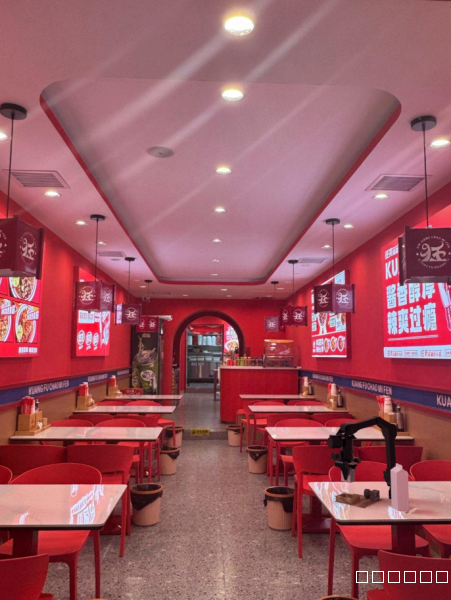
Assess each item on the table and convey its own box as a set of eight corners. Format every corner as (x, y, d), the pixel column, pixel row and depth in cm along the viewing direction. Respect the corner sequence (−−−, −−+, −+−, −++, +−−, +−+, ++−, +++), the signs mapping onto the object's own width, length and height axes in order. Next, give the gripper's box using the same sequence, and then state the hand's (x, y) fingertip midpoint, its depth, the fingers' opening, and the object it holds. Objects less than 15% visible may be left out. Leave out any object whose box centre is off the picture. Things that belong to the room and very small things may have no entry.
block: (354, 481, 242) (354, 467, 243) (350, 482, 239) (350, 468, 240) (345, 479, 246) (345, 465, 247) (341, 481, 242) (341, 467, 243)
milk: (402, 509, 233) (401, 463, 236) (409, 513, 227) (408, 465, 230) (391, 509, 232) (390, 463, 235) (397, 513, 226) (396, 465, 229)
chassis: (382, 501, 245) (382, 490, 246) (364, 510, 229) (364, 498, 230) (354, 495, 256) (354, 484, 256) (334, 504, 239) (334, 492, 240)
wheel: (376, 498, 246) (376, 489, 246) (373, 500, 242) (373, 491, 243) (366, 496, 249) (366, 487, 250) (362, 497, 246) (362, 489, 247)
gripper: (341, 444, 257) (342, 474, 255) (324, 448, 243) (324, 479, 241) (361, 446, 249) (361, 477, 247) (344, 451, 236) (345, 483, 233)
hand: (348, 479), depth 242 cm, fingers closed on block, 5 cm apart
